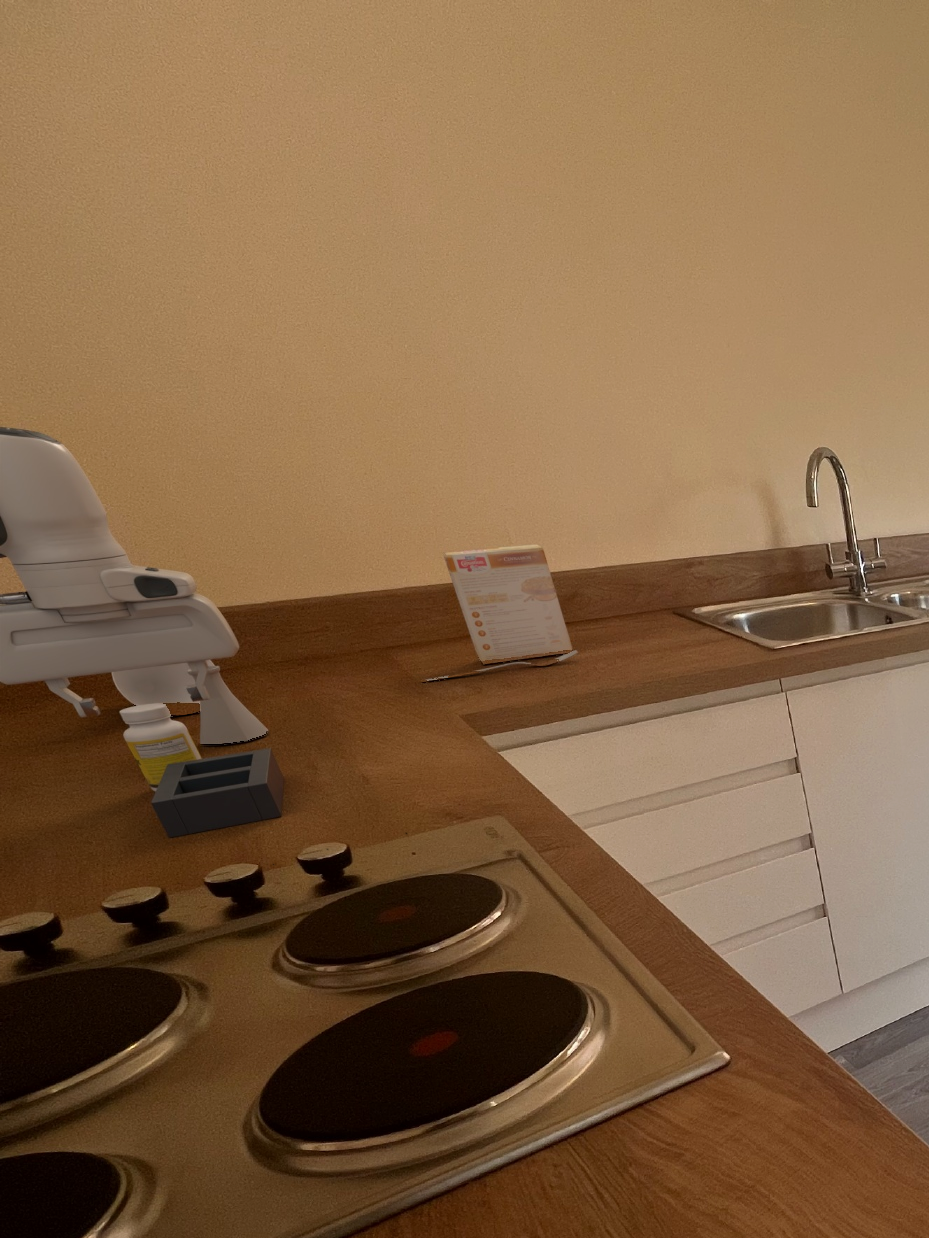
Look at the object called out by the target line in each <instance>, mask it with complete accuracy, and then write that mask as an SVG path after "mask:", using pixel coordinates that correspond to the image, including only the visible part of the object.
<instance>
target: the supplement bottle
mask: <svg viewBox="0 0 929 1238" xmlns="http://www.w3.org/2000/svg"><path fill="white" fill-rule="evenodd" d="M119 715H120V716H121V719H122V721H123V722H124V724H126V725H128V726H129V727H128V728H127V729H125V730H124V731H123V735H122V736H123V739H124V741H125V743H126V745H127V746H128V748H129V750H130V752H131V754H132V756H133V758H134V760H135V762H136V763H137V765H138V767H139V768H140V772H141V773H142V774H143V776H144V778H145V781H146V783H147V784H148V786H149V787H150V789H151V790H152V791H153V792H154V793H155V792H156V790H157V788H158V785H159V783H160V781H161V778H162V776H163V774H164V771H165V769H166V767H167V764H172V763H179V762H186V761H191V760H198V759H203V757H202V755H201V754H200V752H199V749H198V748H197V745H196V743H195V742H194V740H193V738H192V735H191V734H190V732H189V730H188V728H187V726H186V725H185V724H184V723H183V722H181V721H178V720H172V719H171V717H172V716H171V714H170V711H169V709H168V708H167V706H166V704H163V703H155V704H145V705H139V706H134V705H133V706H130V707H127V708H122V709H121V710H119Z"/></svg>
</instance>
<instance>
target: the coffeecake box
mask: <svg viewBox="0 0 929 1238" xmlns="http://www.w3.org/2000/svg"><path fill="white" fill-rule="evenodd" d="M543 547H544V546H540V545H539V544H535V543H534V544H526V545H525V544H524V545H514V546H513V545H512V546H499V547H487V548H486V547H485V548H475V549H474V548H473V549H463V550H450V551H449V550H448V551H442V554H443V555H442V556H443V558H444V561H445V564H446V567H447V568H446V569H447V570H448V573H449V575H450V578H451V582H452V585H453V588H454V591H455V594H456V597H457V600H458V603H459V607H460V609H461V612H462V615H463V617H464V620H465V624H466V627H467V630H468V633H469V635H470V636H469V637H470V638H471V642H472V644H473V647H474V650H475V653H476V655H478V656H477V658H478V657H479V658H478V660H479V659H480V660H481V661H485V660H492V659H504V658H511V657H522V656H526V655H533V654H545V653H549V652H558V651H563V650H572V649H573V645H572V642H571V637H570V634H569V631H568V628H567V625H566V622H565V619H564V614H563V612H562V608H561V605H560V601H559V598H558V595H557V590H556V588H555V584H554V582H553V578H552V575H551V570H550V568H549V564H548V560H547V557H546V554H545V550H544V548H543ZM573 650H574V649H573ZM480 660H479V661H480Z"/></svg>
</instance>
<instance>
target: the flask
mask: <svg viewBox="0 0 929 1238" xmlns="http://www.w3.org/2000/svg"><path fill="white" fill-rule="evenodd" d="M220 671H221V666H220V665H215V666H208V671H207V675H206V679H205V683H204V686H205V688H206V690H207V692H208V694H209V697H210V699H209V700H202V701H200V712H199V716H200V721H199V722H200V725H199V726H200V727H199V745H200V744H222V743H231V744H234V743H233V742H237V743H241V742H240V741H244V742H248V740H249V741H251V740H250V739H252V738H255V739H257V738H256V737H258V738H260V737H259V736H261V737H263V736H262V735H264V734H266V731H268V732H269V729H268V728H267V727H266V726H265V724H263V723H262V722H261V721H260V720H259V719H258V718H257V717H256V716H255V715H254V714H253V713H252V712H251V711H250V710H249V709H247V707H246V706H245V705H244V704H243V703H242V702H241V701H240V700H239V699H238V698H237V697H236V696H235V695H234V694H233V693H232V691H231V690H230V689H229V687H228V686H227V684H226V683H225V682H224V680H223V678H222V676H221V674H220ZM187 672H188V674H189V675H192V676H193V678H194V680H195V682H196V679H197V675H198V672H199V671H195V672H193V671H191V669H189V670H188V671H187ZM266 735H267V734H266ZM264 736H265V735H264ZM252 740H253V739H252Z"/></svg>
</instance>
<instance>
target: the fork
mask: <svg viewBox="0 0 929 1238" xmlns="http://www.w3.org/2000/svg"><path fill="white" fill-rule="evenodd" d="M578 654H579V651H578V650H576V649H575V650H574V649H573V651H572V652H570V653H568V654H563V655H560V656H558V657H555V659H559V661H560V662H563V661H565V660H567V659H569V658H571V657H574V656H575V655H578ZM557 661H558V660H557ZM531 663H532V662H524V661H513V662H508V663H505V664H500V665H495V666H491V667H487V668H482V669H478V670H475V671H483V672H487V671H486V670H488V671H490V670H489V669H492V670H495V669H494V668H496V669H500V668H503V667H508V666H513V665H527V664H531ZM448 676H449V675H444V677H443V676H438V678H448ZM433 678H434V679H432V678H427V679H426V680H427V681H429V680H437V679H438V678H437V677H433ZM436 678H437V679H436Z"/></svg>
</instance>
